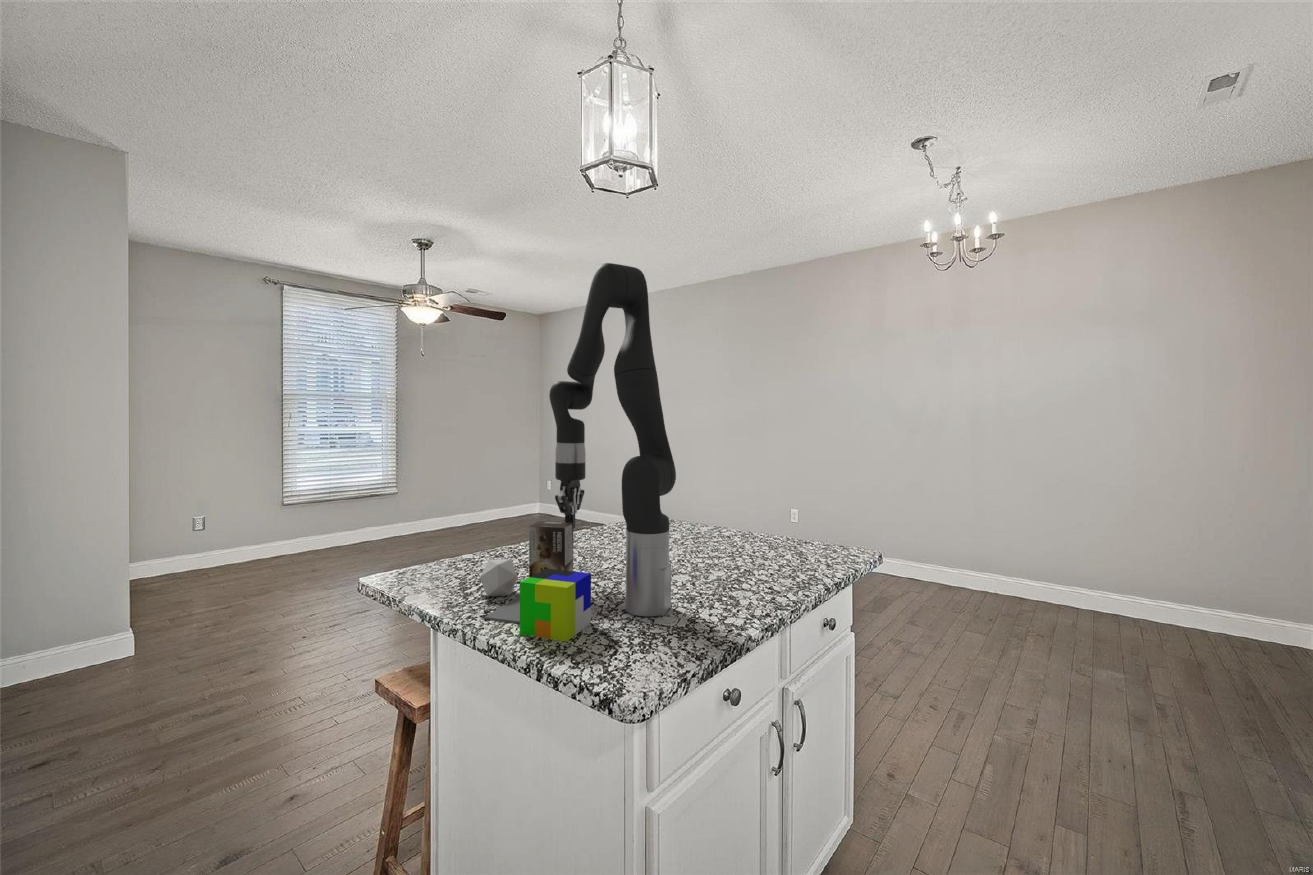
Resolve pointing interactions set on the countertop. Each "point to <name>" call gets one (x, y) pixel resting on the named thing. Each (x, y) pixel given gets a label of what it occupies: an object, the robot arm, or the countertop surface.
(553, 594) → the puzzle toy
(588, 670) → the countertop surface
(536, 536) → the coffee box
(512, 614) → the mat
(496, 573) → the die
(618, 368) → the robot arm
